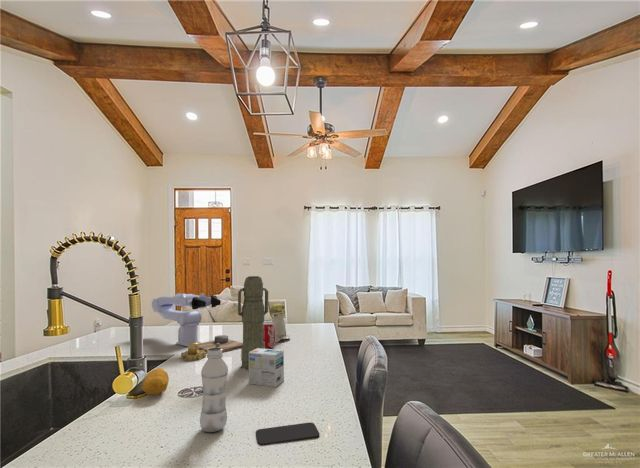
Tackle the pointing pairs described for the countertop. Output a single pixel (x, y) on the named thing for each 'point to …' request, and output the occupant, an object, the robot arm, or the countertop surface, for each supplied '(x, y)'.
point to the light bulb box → (266, 367)
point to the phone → (287, 433)
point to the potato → (155, 381)
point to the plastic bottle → (214, 392)
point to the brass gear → (193, 352)
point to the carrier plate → (221, 344)
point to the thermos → (252, 316)
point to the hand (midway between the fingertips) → (212, 303)
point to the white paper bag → (279, 321)
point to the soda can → (268, 335)
